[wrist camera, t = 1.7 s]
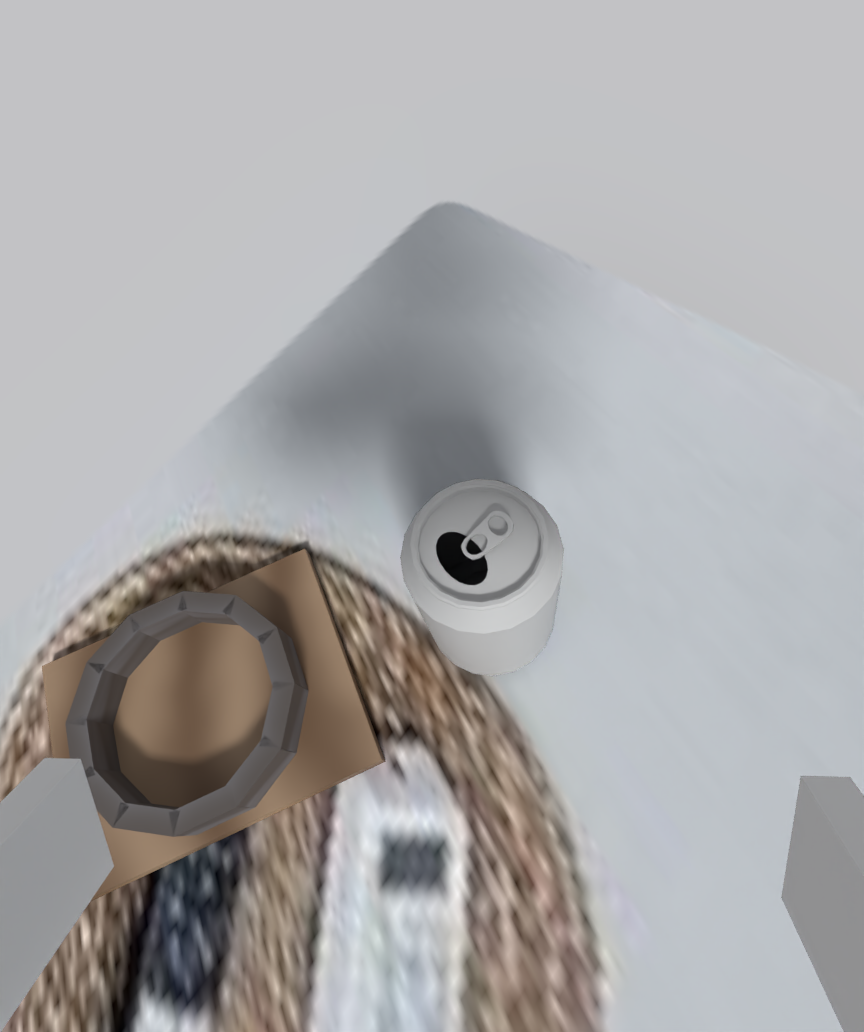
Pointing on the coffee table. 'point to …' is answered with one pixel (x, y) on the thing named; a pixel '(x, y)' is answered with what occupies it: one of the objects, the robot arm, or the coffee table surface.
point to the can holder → (210, 715)
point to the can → (485, 574)
